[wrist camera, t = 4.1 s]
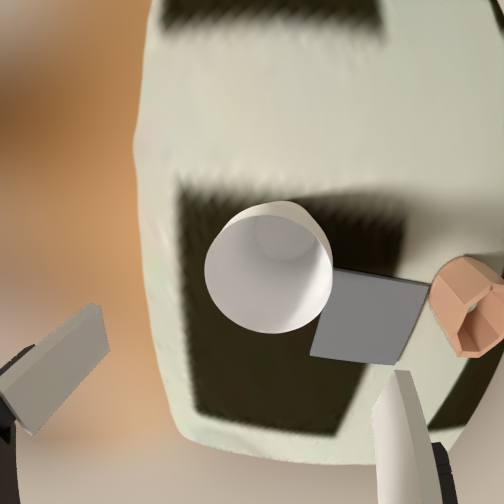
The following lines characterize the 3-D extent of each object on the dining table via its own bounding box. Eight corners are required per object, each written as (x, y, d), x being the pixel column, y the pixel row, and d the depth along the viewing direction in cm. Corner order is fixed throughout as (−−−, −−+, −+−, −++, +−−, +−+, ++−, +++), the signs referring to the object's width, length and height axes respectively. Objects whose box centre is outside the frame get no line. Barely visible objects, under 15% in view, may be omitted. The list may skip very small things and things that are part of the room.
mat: (333, 267, 30) (333, 270, 29) (426, 284, 28) (429, 287, 27) (310, 351, 34) (309, 355, 33) (393, 361, 32) (394, 365, 32)
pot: (442, 250, 26) (474, 279, 19) (491, 262, 25) (525, 290, 18) (418, 316, 30) (439, 356, 22) (468, 322, 28) (492, 357, 21)
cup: (342, 243, 29) (359, 297, 18) (273, 284, 32) (253, 351, 21) (293, 171, 27) (282, 183, 16) (225, 220, 30) (177, 260, 19)
